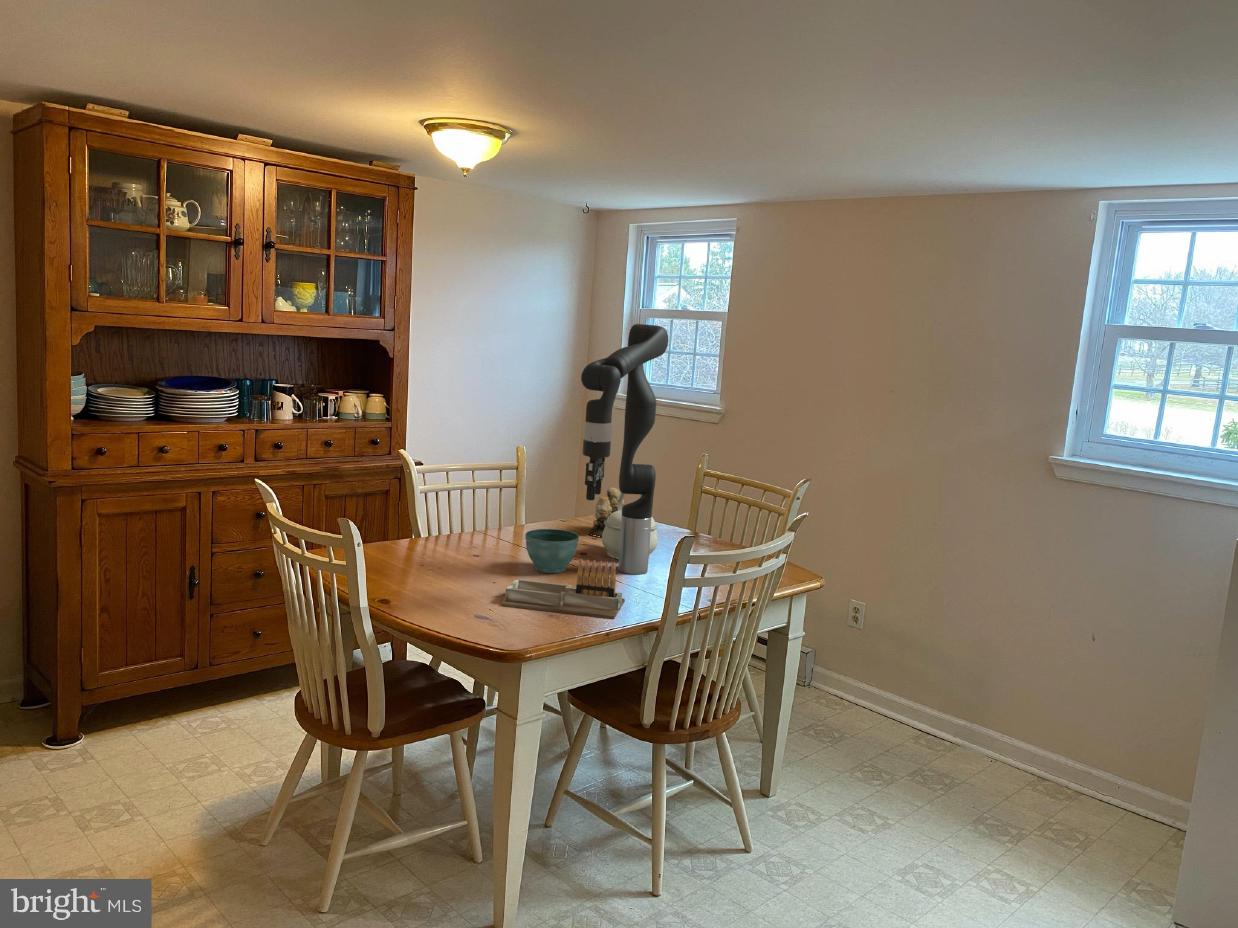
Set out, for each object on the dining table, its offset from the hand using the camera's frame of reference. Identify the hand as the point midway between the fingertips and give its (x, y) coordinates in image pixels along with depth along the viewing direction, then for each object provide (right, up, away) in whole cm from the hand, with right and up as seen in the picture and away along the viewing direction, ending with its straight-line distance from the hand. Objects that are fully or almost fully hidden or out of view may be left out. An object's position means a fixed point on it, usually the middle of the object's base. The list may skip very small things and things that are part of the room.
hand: (593, 496), depth 252 cm
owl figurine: (+3, -16, +82) cm, 83 cm away
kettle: (+10, -21, +51) cm, 57 cm away
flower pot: (-14, -23, +27) cm, 38 cm away
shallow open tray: (-8, -28, -6) cm, 30 cm away
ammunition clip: (+1, -28, -7) cm, 29 cm away
